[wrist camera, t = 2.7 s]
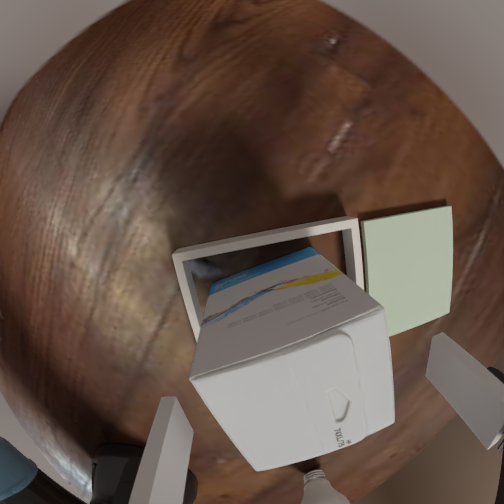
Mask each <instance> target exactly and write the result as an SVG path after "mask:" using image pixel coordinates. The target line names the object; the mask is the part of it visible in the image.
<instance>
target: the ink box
mask: <svg viewBox="0 0 504 504" xmlns="http://www.w3.org/2000/svg"><path fill="white" fill-rule="evenodd" d="M189 380H190V381H191V382H192V384H193V385H194V387H195V389H196V390H197V392H198V393H199V395H200V396H201V398H202V400H203V401H204V403H205V404H206V406H207V407H208V408H209V410H210V411H211V413H212V414H213V416H214V417H215V418H216V420H217V421H218V423H219V424H220V425H221V427H222V428H223V430H224V431H225V432H226V434H227V435H228V436H229V438H230V439H231V441H232V442H233V443H234V444H235V446H236V447H237V448H238V450H239V451H240V452H241V454H242V455H243V456H244V457H245V459H246V460H247V461H248V462H249V463H250V464H251V466H252V467H253V468H254V469H255V470H256V471H264V470H268V469H273V468H277V467H281V466H286V465H289V464H293V463H297V462H300V461H304V460H307V459H311V458H314V457H317V456H320V455H323V454H327V453H330V452H332V451H335V450H338V449H341V448H344V447H346V446H349V445H352V444H354V443H357V442H359V441H360V440H362V439H363V438H364V437H366V436H369V435H371V434H373V433H375V432H377V431H379V430H381V429H383V428H385V427H387V426H389V425H391V424H393V423H394V422H395V413H394V387H393V372H392V360H391V350H390V342H389V335H388V328H387V321H386V315H385V309H384V307H383V306H382V305H381V304H380V303H379V302H377V301H376V300H375V299H374V298H372V297H371V296H370V295H369V294H368V293H366V292H365V291H364V290H363V289H362V288H361V287H359V286H358V285H357V284H356V283H355V282H354V281H352V280H351V279H350V278H349V277H347V276H346V275H345V274H344V273H343V272H341V271H340V270H339V269H338V268H337V267H335V266H334V265H333V264H332V263H331V262H329V261H328V260H327V259H326V258H324V257H323V256H322V255H321V254H320V253H318V252H317V251H316V250H315V249H313V248H312V247H308V248H305V249H302V250H299V251H297V252H294V253H291V254H289V255H286V256H283V257H280V258H277V259H274V260H272V261H269V262H266V263H263V264H260V265H258V266H255V267H252V268H250V269H247V270H244V271H242V272H239V273H237V274H234V275H232V276H229V277H227V278H224V279H222V280H219V281H217V282H215V283H213V284H211V287H210V291H209V295H208V299H207V303H206V307H205V311H204V316H203V320H202V324H201V328H200V332H199V337H198V341H197V345H196V349H195V353H194V358H193V362H192V367H191V371H190V376H189Z"/></svg>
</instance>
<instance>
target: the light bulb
mask: <svg viewBox="0 0 504 504" xmlns="http://www.w3.org/2000/svg"><path fill="white" fill-rule="evenodd" d="M323 471H324V470H321V469H313V470H310V471H308V472H306V473H305V474H304V476H303V479H304V480H303V481H304V484H305V486H304V497H303V499H302V501H301V503H300V504H350V502H349V501H348V499H347V498H346V497H345V496H343V495H342V494H340V493H339V492H337V491H336V490H334V489H333V488H332V487H331V485H330V483H329V481H328V480H326V479H325V477H326V476H325V473H324V472H323Z"/></svg>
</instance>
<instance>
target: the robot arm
mask: <svg viewBox="0 0 504 504" xmlns="http://www.w3.org/2000/svg"><path fill="white" fill-rule="evenodd" d="M425 376H426V377H427V378H428V380H429V381H430V382H431V383H432V384H433V385H434V386H435V388H436V389H437V390H438V391H439V392H440V393H441V394H442V396H443V397H444V398H445V399H446V400H447V401H448V403H449V404H450V405H451V406H452V407H453V408H454V410H455V411H456V412H457V413H458V414H459V415H460V417H461V418H462V419H463V420H464V421H465V423H466V424H467V425H468V426H469V427H470V429H471V430H472V431H473V433H474V434H475V435H476V436H477V438H478V439H479V440H480V441H481V443H482V444H483V445H484V446H485V448H486V449H487V450H488V449H489V448H490V447H492V446H493V445H494V444H495V443H497V442H498V441H499V439H500V437H501V436H502V434H503V433H504V374H503V373H502V372H500V371H499V370H498V369H495V368H493V367H489V368H487V369H486V368H485V367H484V366H483V365H482V364H480V363H479V362H478V361H477V360H476V359H475V358H473V357H472V356H471V355H470V354H469V353H467V352H466V351H465V350H464V349H463V348H461V347H460V346H459V345H458V344H457V343H455V342H454V341H453V340H452V339H450V338H449V337H448V336H447V335H445V334H444V333H443V332H442V333H440V334H437V335H435V336H433V337H432V341H431V348H430V354H429V360H428V365H427V370H426V375H425ZM193 432H194V431H193V429H192V427H191V426H190V424H189V422H188V420H187V418H186V416H185V414H184V412H183V410H182V408H181V406H180V404H179V402H178V399H177V397H176V396H174V397H162V398H161V401H160V404H159V407H158V410H157V412H156V416H155V419H154V422H153V425H152V428H151V431H150V434H149V437H148V440H147V443H146V446H145V449H142V448H139V447H134V446H130V445H123V444H106V445H103V446H100V447H99V448H98V449H97V451H96V453H95V455H94V457H93V460H92V499H91V501H90V504H193V502H194V500H195V499H196V496H197V488H198V481H197V479H196V477H195V476H194V475H193V474H192V473H191V472H190V471H189V470H188V463H189V457H190V450H191V444H192V438H193ZM502 446H503V449H502V450H503V457H502V465H501V473H500V480H499V486H498V491H497V496H496V501H495V504H504V439H503V441H502V443H501V444H500V446H499V447H498V450H500V449H501V447H502ZM0 504H87V503H85V502H84V501H82V500H81V499H79V498H78V497H76V496H75V495H73V494H72V493H70V492H69V491H67V490H66V489H64V488H63V487H62V486H60V485H59V484H58V483H56V482H55V481H54V480H52V479H51V478H50V477H48V476H47V475H46V474H45V473H44V472H42V471H41V470H40V469H39V468H37V465H36V464H35V463H34V462H33V461H32V460H31V459H28V458H26V457H25V456H24V455H23V454H22V453H21V452H19V451H18V450H17V449H16V448H15V447H14V446H13V445H12V444H10V443H9V442H8V441H7V440H6V439H4V438H2V437H0Z"/></svg>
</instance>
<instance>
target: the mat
mask: <svg viewBox="0 0 504 504" xmlns="http://www.w3.org/2000/svg"><path fill="white" fill-rule="evenodd" d="M360 222H361V231H362V240H363V251H364V263H365V278H366V293H368V294H369V295H370V296H371V297H372V298H374V299H375V300H376V301H377V302H379V303H380V304H381V305H382V306H383V307H384V309H385V315H386V321H387V328H388V335H389V336H392V335H395V334H397V333H400V332H403V331H406V330H408V329H411V328H414V327H416V326H419V325H421V324H424V323H426V322H429V321H431V320H433V319H436V318H438V317H441V316H443V315H445V314H447V313H449V310H450V300H451V288H452V270H453V226H452V208H451V206H442V207H436V208H430V209H425V210H419V211H413V212H408V213H402V214H397V215H391V216H386V217H380V218H375V219H369V220H364V221H360Z"/></svg>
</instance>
